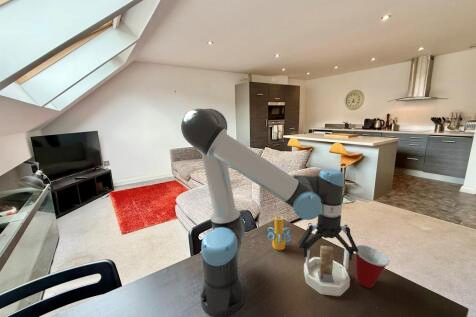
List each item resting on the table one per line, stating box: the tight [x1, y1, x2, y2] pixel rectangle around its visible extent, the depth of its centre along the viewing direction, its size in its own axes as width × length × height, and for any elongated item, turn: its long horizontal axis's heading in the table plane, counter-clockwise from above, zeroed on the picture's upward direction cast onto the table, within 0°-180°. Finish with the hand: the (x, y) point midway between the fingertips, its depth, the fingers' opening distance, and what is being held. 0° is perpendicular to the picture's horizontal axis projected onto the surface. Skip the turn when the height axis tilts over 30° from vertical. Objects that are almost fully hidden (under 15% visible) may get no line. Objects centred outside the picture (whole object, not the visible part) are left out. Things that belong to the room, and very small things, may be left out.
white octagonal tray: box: [303, 256, 351, 297], centre depth 81 cm, size 15×15×4 cm
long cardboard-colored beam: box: [319, 245, 335, 278], centre depth 79 cm, size 4×2×12 cm, turn 81°
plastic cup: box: [355, 244, 391, 289], centre depth 77 cm, size 11×11×12 cm
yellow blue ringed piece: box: [267, 215, 292, 251], centre depth 100 cm, size 12×10×15 cm
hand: (326, 265), depth 80 cm, fingers open, 13 cm apart
